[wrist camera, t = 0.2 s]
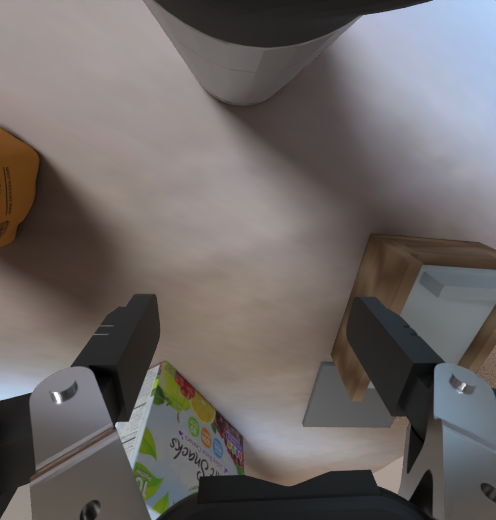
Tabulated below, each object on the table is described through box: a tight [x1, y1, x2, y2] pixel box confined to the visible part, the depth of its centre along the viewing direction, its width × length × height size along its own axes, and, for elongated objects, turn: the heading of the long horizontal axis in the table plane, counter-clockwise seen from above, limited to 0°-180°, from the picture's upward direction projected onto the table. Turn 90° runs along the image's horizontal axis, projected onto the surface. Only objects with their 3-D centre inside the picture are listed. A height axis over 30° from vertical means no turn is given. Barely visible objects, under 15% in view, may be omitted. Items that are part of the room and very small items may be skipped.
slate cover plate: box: [368, 265, 496, 388], centre depth 27 cm, size 16×10×4 cm, turn 174°
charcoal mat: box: [302, 362, 395, 428], centre depth 40 cm, size 14×15×1 cm
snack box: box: [117, 361, 244, 520], centre depth 33 cm, size 21×6×15 cm, turn 30°
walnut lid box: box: [331, 234, 496, 402], centre depth 30 cm, size 18×13×7 cm
